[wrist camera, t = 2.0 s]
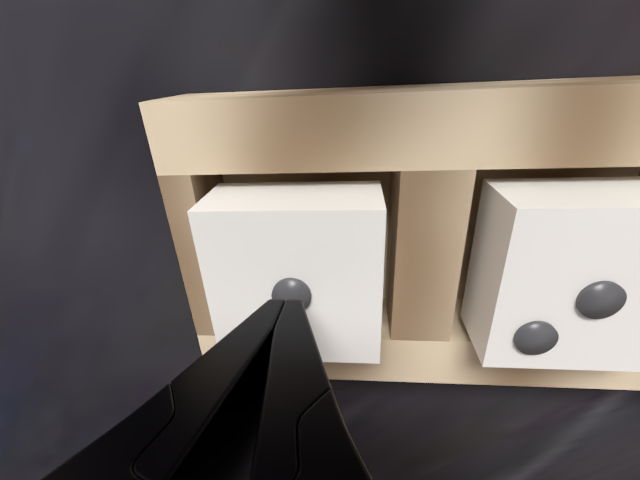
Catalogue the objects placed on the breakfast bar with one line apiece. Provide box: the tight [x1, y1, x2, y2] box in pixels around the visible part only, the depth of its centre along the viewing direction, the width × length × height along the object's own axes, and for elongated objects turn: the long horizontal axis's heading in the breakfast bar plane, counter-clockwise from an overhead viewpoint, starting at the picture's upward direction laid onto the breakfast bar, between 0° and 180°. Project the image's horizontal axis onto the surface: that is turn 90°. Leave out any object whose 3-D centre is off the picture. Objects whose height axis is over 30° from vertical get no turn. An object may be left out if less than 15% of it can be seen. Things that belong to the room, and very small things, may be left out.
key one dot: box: [187, 181, 387, 364], centre depth 11 cm, size 5×5×2 cm
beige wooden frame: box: [139, 75, 640, 390], centre depth 12 cm, size 24×10×3 cm, turn 92°
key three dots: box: [460, 176, 640, 372], centre depth 10 cm, size 5×5×2 cm
